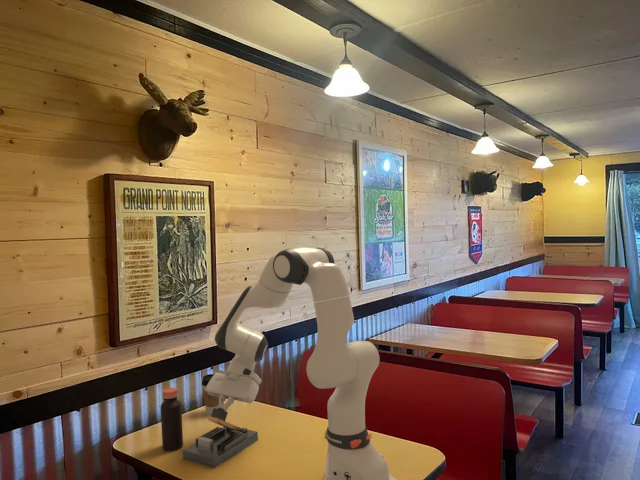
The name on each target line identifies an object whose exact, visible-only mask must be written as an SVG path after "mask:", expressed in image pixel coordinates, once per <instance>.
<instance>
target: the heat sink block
mask: <svg viewBox="0 0 640 480" xmlns="http://www.w3.org/2000/svg"><path fill="white" fill-rule="evenodd" d="M241 428H242V429H241V432H239V431H235V430H231V429H229V428H226V427H224V426H222V427H220V426H217V427H215V428H213V429H211V430H209V431H208V432H205V433H204V434H202V435H200V436H198V437H197V438H195V440H194V441H195V442H194V443H193V444H191V445H189V446H188V447H185V448H184V449H182V460H184V461H189V462H192V463H195V464H199V465H202V466H206V467H209V468H213V469H217V468H218V467H219V466H221V465H223V464H224V463H225V462H227V461H228V460H230V459H231V458H233V457H235V456H236V455H237V454H239V453H241V452H243V450H245V449H247V448H249V447H250V446H252V445H253V444H255V443H256V442H257V441H259V436H258V435H259V434H258V431H255V430H251V429H248V428H247V427H241Z"/></svg>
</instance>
